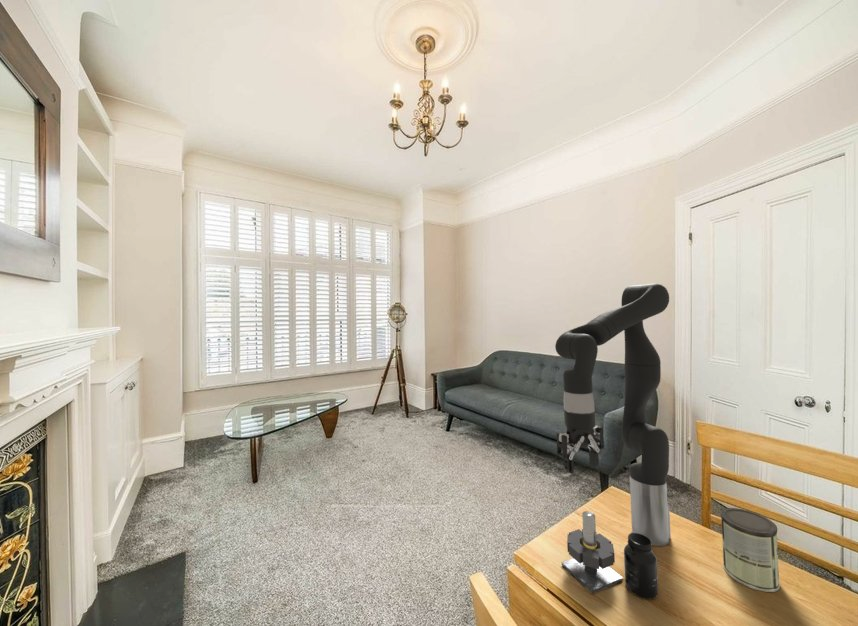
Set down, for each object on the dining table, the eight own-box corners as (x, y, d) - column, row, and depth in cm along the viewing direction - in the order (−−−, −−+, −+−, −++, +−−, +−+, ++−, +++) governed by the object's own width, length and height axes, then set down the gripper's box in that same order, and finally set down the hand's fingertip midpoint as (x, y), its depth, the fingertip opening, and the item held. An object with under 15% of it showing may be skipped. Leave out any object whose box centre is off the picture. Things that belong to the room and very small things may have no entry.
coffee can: (715, 557, 90) (712, 504, 90) (763, 565, 86) (761, 510, 86) (736, 587, 80) (733, 528, 80) (791, 597, 77) (788, 536, 77)
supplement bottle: (664, 602, 76) (661, 550, 77) (631, 598, 78) (629, 547, 78) (650, 579, 83) (648, 531, 83) (620, 575, 85) (618, 528, 85)
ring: (589, 534, 93) (588, 525, 93) (624, 560, 83) (623, 550, 83) (558, 545, 89) (558, 536, 89) (591, 573, 79) (591, 563, 79)
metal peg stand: (590, 554, 92) (587, 500, 93) (622, 580, 83) (619, 520, 83) (561, 565, 89) (559, 509, 89) (592, 594, 79) (589, 531, 80)
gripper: (587, 401, 95) (590, 458, 95) (547, 408, 89) (550, 468, 89) (610, 407, 88) (613, 469, 88) (569, 416, 82) (572, 481, 82)
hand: (582, 468), depth 88 cm, fingers open, 8 cm apart
